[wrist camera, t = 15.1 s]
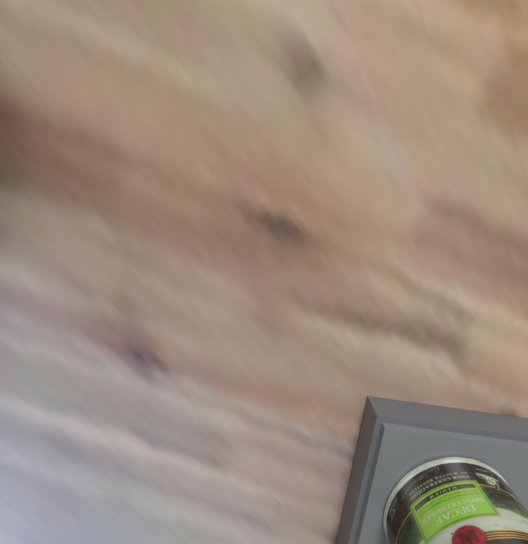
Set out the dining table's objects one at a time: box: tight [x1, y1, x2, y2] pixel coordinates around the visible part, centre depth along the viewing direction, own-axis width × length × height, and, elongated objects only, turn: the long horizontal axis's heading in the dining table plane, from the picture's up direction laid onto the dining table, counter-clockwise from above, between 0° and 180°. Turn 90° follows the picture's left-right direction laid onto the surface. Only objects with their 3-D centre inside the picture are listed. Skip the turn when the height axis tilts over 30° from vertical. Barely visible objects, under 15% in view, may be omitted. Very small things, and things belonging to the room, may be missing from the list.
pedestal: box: [336, 397, 528, 544], centre depth 41 cm, size 14×14×4 cm
